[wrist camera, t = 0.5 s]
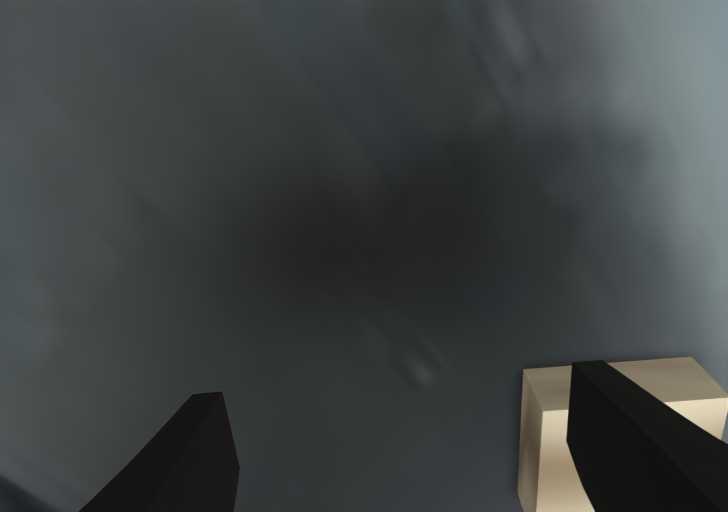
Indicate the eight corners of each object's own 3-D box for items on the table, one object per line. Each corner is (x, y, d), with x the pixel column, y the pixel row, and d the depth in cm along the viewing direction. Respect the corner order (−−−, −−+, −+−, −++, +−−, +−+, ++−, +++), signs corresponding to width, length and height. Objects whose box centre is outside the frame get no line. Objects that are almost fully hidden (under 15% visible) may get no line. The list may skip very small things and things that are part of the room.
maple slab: (663, 476, 27) (699, 530, 24) (515, 487, 27) (534, 542, 24) (687, 351, 24) (730, 397, 21) (521, 364, 24) (542, 411, 21)
